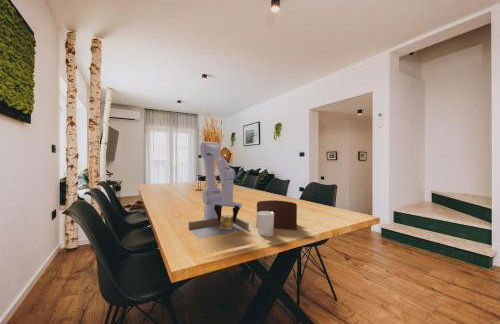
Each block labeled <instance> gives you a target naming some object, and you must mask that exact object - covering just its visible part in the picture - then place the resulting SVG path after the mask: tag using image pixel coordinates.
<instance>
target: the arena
mask: <svg viewBox="0 0 500 324" xmlns="http://www.w3.org/2000/svg"><path fill="white" fill-rule="evenodd" d="M249 228H250V227H249V222H247V221H245V220H243V219H241V218H240V217H238V216H237V217H236V221H235V222H233V226H232V227H231V228H220V221H218V218H212V219H205V220H204V219H198V220H192V221H191V220H190V221H188V229H189V230H190V231H191V233H193V234H194V235H195V236H196V237H197V238H198V239H204V238H209V237H211V238H212V237H216V236H220V235H221V236H222V235H227V234H232V233H236V232H243V231H248V230H249Z"/></svg>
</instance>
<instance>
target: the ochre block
mask: <svg viewBox="0 0 500 324" xmlns="http://www.w3.org/2000/svg"><path fill="white" fill-rule="evenodd" d="M232 226H233V214H223V215H221V217H220V228H231V227H232Z"/></svg>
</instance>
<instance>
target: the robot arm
mask: <svg viewBox="0 0 500 324" xmlns="http://www.w3.org/2000/svg"><path fill="white" fill-rule="evenodd" d="M199 146H200V147H199V151H200V155H201V156H200V157H201V158H202V159H203V164H204V170H205V180H206V181H205V182H206V187H205V188H204V190H203V191H202V203H203V204H204V205H205V206H204V209H203V211H204V212H203V214H204V216H203V217H202V220H205V219H212V218H218V221H220V217H221V216H222V210H223V209H222V208H223V207H230V208H231V207H232V215H233V222H235V221H236V217H238V213H239V212H240V209H241V208H243V207H242V206H243V203H242V202H238V201H237V202H235V201H234V181H235V179H236V176H237V175H236V170H235V169H234V168H232V167H230V165H229V164H228V163H229V162H227V160H226V159H225V158H223V156H222V153H221V152H220V150H221V145H220V143H219V142H218V141H217V142H216V141H215V142H212V141H211V142H210V141H209V142H208V141H202V142H201V143H200V145H199ZM214 160H215V166H216V168H217V170H218V172H219V175H218V176H219V180H220V185H221V188H219V187H218V186H217V184H216V177H215V176H216V175H215V168H214Z"/></svg>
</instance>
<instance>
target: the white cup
mask: <svg viewBox="0 0 500 324" xmlns="http://www.w3.org/2000/svg"><path fill="white" fill-rule="evenodd" d="M273 226H274V213H273V212H270V211H260V212H257V211H256V229H257V234H258V235H260V236H263V237H264V236H266V237H267V238H272V237H273V236H274V229H273Z"/></svg>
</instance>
